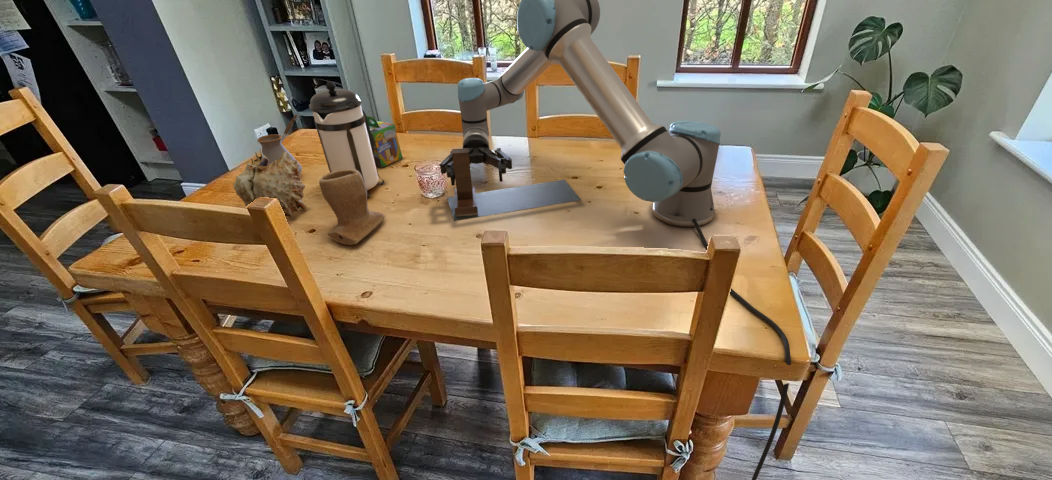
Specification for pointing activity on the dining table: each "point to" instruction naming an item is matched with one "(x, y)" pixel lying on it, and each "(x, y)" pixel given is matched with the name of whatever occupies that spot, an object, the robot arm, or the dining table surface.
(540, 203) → the slate board
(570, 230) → the dining table surface
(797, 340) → the dining table surface
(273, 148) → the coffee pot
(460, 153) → the brown upright slab stand
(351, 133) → the coffee press
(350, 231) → the clay platform pipe
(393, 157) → the chalk box
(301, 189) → the seashell
